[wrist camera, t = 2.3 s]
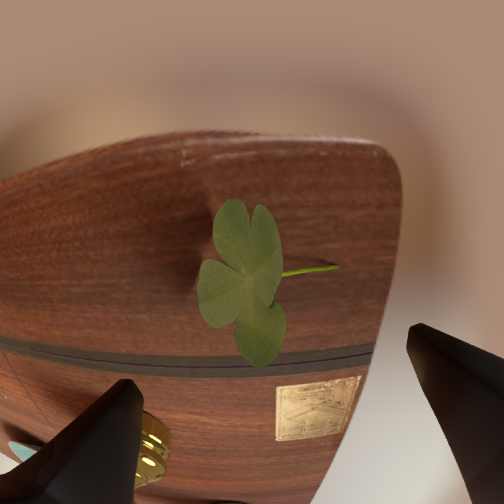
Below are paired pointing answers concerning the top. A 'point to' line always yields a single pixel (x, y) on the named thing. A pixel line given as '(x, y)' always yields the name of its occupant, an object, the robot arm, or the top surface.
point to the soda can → (230, 503)
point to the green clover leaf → (246, 281)
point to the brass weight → (152, 452)
